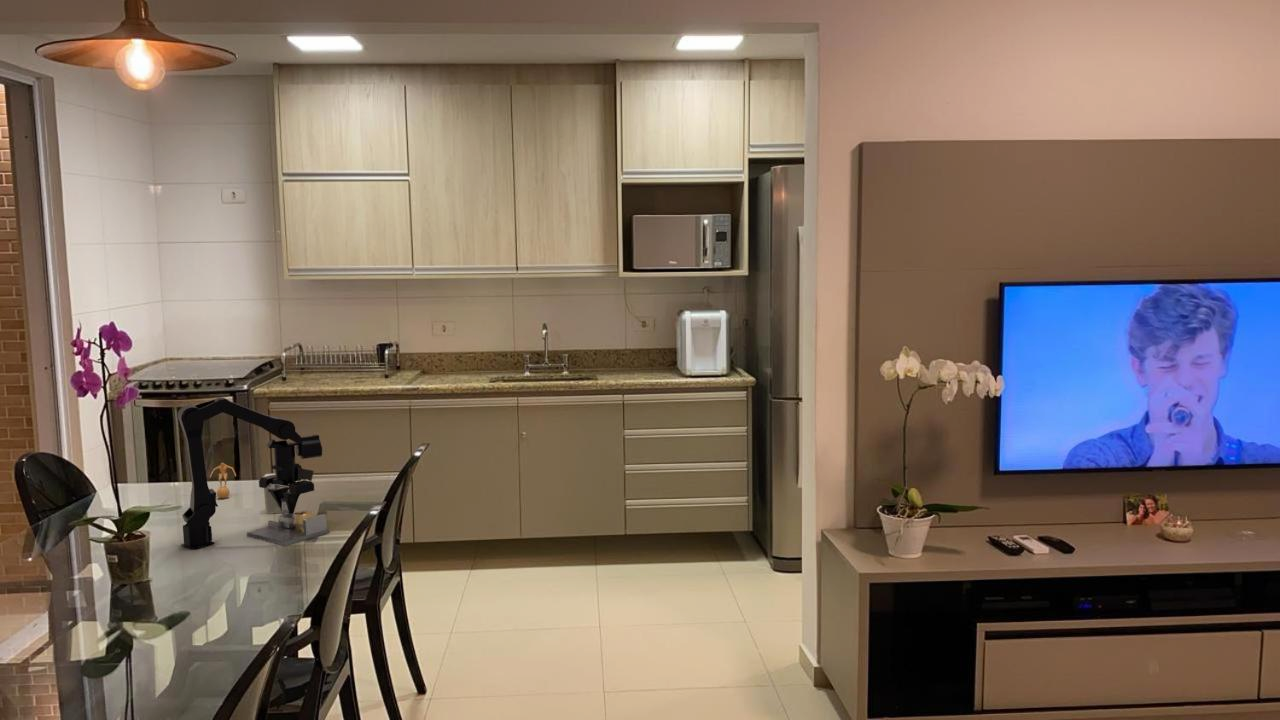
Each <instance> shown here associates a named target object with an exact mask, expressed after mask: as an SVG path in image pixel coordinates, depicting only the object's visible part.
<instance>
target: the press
mask: <svg viewBox="0 0 1280 720" xmlns="http://www.w3.org/2000/svg"><path fill="white" fill-rule="evenodd" d="M267 524H268V526H264V527H262V528H258V529H254V530H251V531H246V537H248V538H252V537H253V538H252V539H256V538H257V539H256V540H260V539H261V540H260V541H264V540H265V541H264V542H268V541H269V542H268V543H272V542H273V544H277V545H281V546H290V545H293V544H296V543H299V542H303V541H306V540H310V539H313V538H316V537H320V536H322V535H326V534H329V533H330V532H331V530H330V527H329V528H328V527H327V515H326V514H324V513H323V514H319V515H315V516H313V517H311V518H308V519H304V520H303V530H304V532H297V531H296V530H295V527H291V528H287V527H282V526H281V523H279V522H278V521H275V520H268V521H267Z"/></svg>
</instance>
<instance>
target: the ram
mask: <svg viewBox="0 0 1280 720" xmlns="http://www.w3.org/2000/svg"><path fill="white" fill-rule="evenodd" d="M281 502H282V513H281V515H278V517H277V522H279V523H281V526H282V527H287V528H291V527H295V512H294V513H293V514H290V513H289V510H288V508H287V504H286V501H285V498H284V496H283V497H281Z"/></svg>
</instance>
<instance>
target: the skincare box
mask: <svg viewBox="0 0 1280 720" xmlns="http://www.w3.org/2000/svg"><path fill="white" fill-rule="evenodd" d="M270 475H275V472H273V473H265V474H264V475H263V476H262V477H266V476H270ZM268 489H270V485H268V486H267V487H266V488H263V490H264V491H263V492H264V493H263V494H264V504H265V514H267V515H268V514H282V511H281V509H280V507H279V506H278V504H277V502H276V501H275V499H274V498H273V496H272V495H271V493H270V492H268Z"/></svg>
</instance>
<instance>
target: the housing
mask: <svg viewBox="0 0 1280 720" xmlns="http://www.w3.org/2000/svg"><path fill="white" fill-rule="evenodd" d="M294 514H295V530H296V531H297V532H304V530H303V520H304V519H308V518H311V517H314V513H313V511H312V510H299V511H296V512H294Z"/></svg>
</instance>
